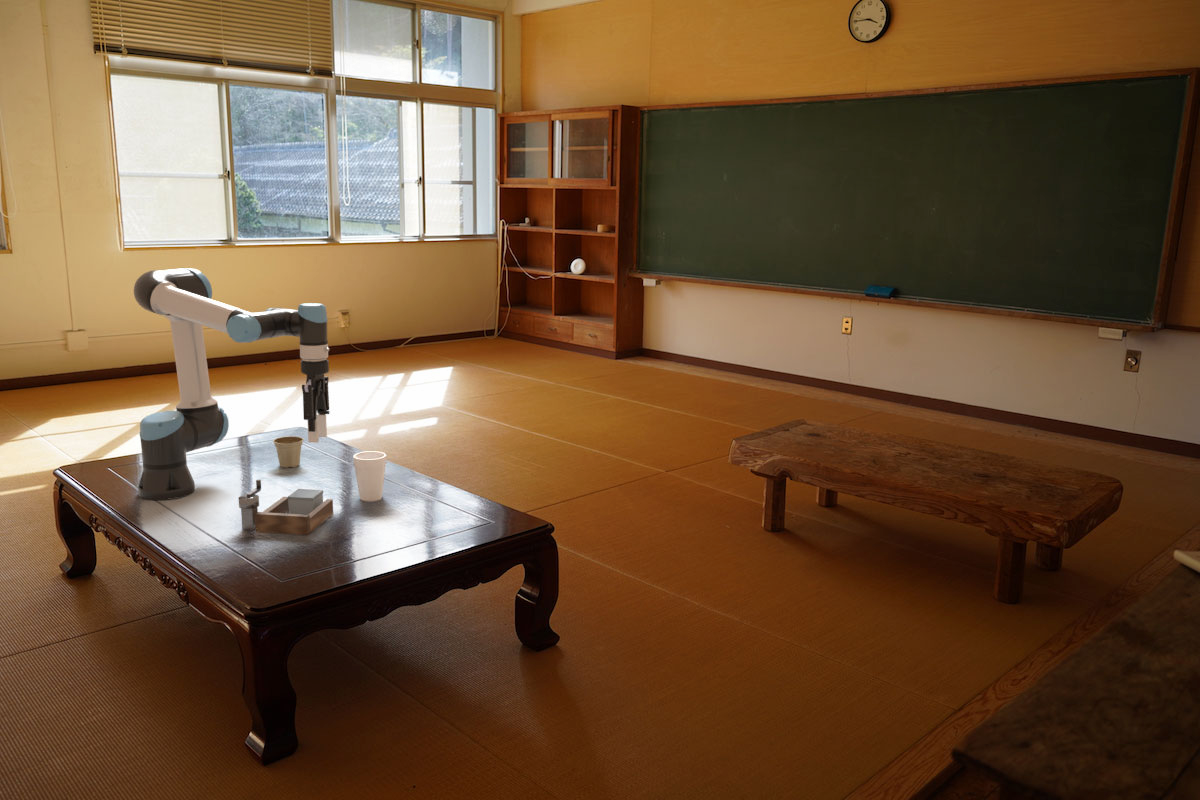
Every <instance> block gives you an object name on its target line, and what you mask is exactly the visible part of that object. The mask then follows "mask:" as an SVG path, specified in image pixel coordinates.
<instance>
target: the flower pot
mask: <svg viewBox="0 0 1200 800" xmlns="http://www.w3.org/2000/svg"><path fill="white" fill-rule="evenodd" d="M272 442H273V444H274V447H275V449H276V453H277V459H278V463H279V467H281V468H286V469H287V468H296V467H298V466H299V465H300V463H301V451H302V446H303V442H304V438H303V437H300V436H293V435H290V436H280V437H276V438H275V439H273V440H272Z"/></svg>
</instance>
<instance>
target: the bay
mask: <svg viewBox="0 0 1200 800" xmlns="http://www.w3.org/2000/svg"><path fill="white" fill-rule="evenodd" d="M333 502H334V500H333V499H332V498H330V499H329V498H326V499H325V500H323V503H322V504H321V505H319V506H318V507H317V508H316V509H314V510H313V511H312V512H311V513H310V514H308V515H303V514H289V505H288V496H282V497H281V498H280V499H279V500H277V501H276V502H274V503H273V504H271V505H270V506H269V507H267V508H266V509H264V510H263V511H258V512H257V513H255V529H254V530H255V533H264V534H283V535H284V534H285V535H287V534H288V535H301V536H302V535H303V536H308V535H310V534H311V533H312V532H313V531H315V528H316V529H317V528H318V527H319V526H321V524H323V521H324V520H325V519H326V518H327V519H328V518H329V517H330V516H332V515H333V514H334V503H333ZM332 513H333V514H332ZM327 519H326V520H327ZM326 520H325V521H326ZM325 521H324V522H325Z"/></svg>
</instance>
